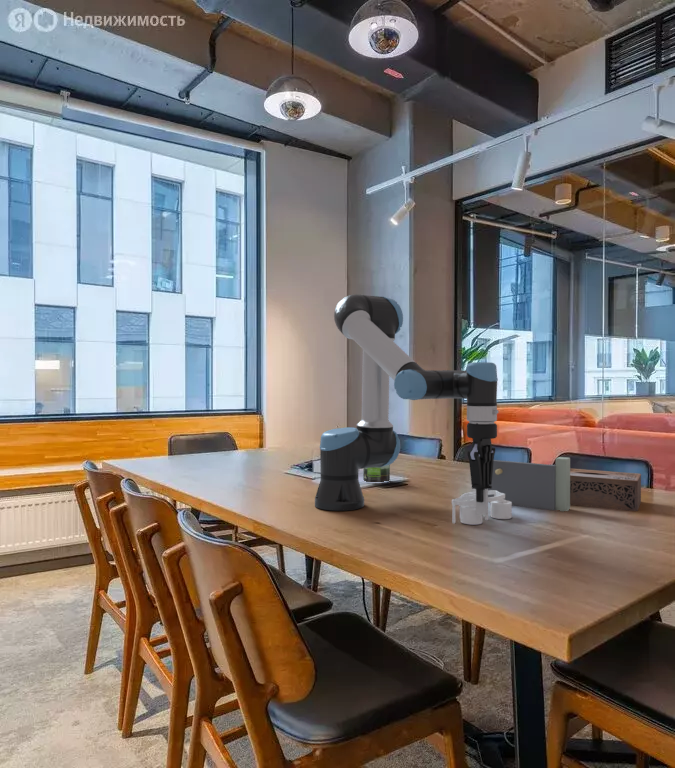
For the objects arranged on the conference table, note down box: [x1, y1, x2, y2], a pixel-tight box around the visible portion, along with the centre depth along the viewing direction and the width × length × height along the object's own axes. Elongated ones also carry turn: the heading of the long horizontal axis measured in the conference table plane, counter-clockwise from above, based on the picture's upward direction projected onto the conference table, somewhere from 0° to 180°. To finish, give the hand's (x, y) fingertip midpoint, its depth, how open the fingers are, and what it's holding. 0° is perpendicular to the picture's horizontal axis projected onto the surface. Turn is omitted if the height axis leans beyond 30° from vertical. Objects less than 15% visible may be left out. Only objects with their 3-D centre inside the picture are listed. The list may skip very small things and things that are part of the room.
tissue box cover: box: [570, 467, 642, 512], centre depth 179 cm, size 26×14×10 cm, turn 59°
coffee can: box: [362, 464, 391, 482], centre depth 218 cm, size 10×10×14 cm
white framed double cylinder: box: [451, 490, 513, 526], centre depth 157 cm, size 20×11×7 cm, turn 121°
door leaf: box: [487, 456, 571, 512], centre depth 173 cm, size 9×23×16 cm, turn 54°
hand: (481, 514), depth 149 cm, fingers closed
